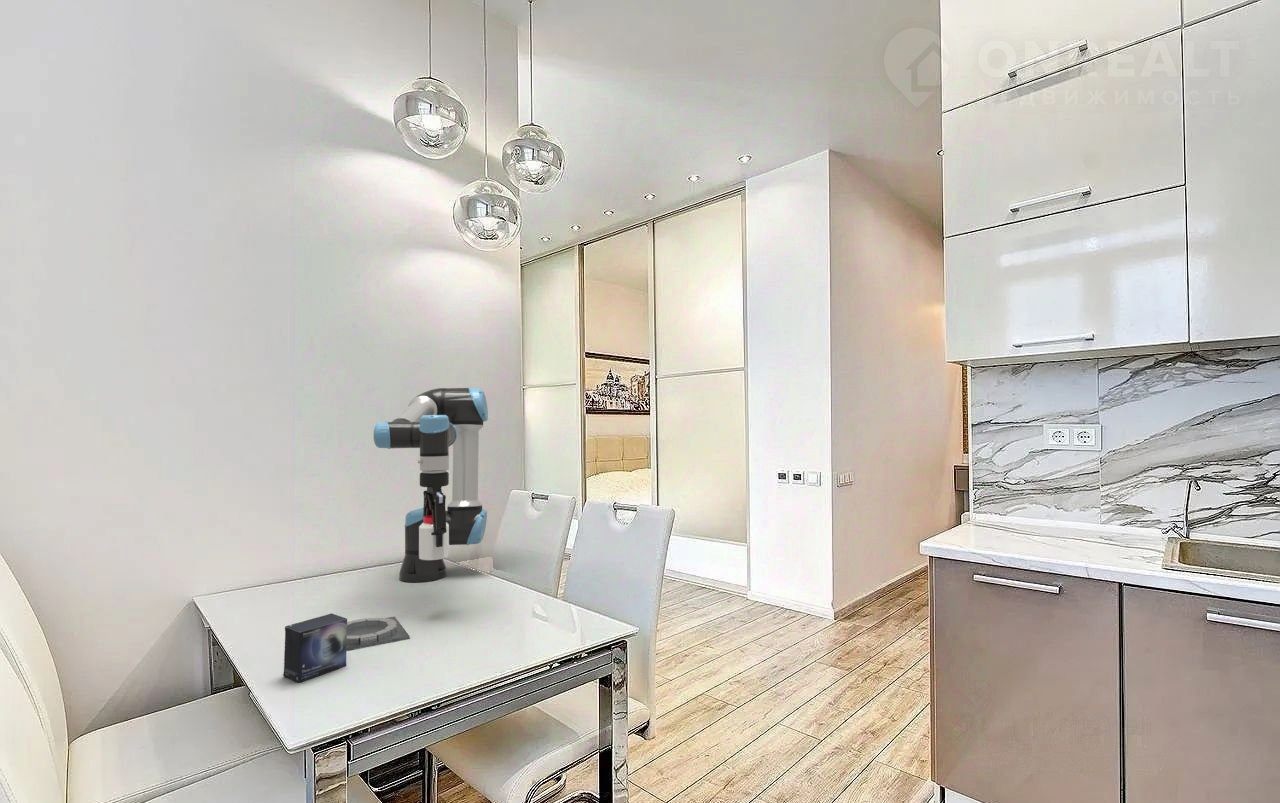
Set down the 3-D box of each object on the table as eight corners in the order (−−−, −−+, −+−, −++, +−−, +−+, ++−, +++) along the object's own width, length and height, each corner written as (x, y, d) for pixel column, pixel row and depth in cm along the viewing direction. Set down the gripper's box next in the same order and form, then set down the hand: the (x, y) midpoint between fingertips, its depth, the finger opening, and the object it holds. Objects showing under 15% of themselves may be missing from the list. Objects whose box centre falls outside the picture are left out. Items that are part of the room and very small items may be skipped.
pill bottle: (412, 558, 162) (412, 517, 162) (432, 552, 169) (432, 513, 170) (435, 561, 159) (435, 519, 160) (455, 554, 167) (455, 514, 167)
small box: (299, 684, 123) (299, 631, 123) (282, 677, 126) (282, 626, 127) (348, 666, 132) (348, 617, 132) (331, 659, 135) (331, 612, 135)
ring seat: (394, 618, 163) (394, 611, 163) (409, 638, 148) (409, 631, 148) (319, 631, 153) (319, 624, 153) (327, 654, 138) (327, 646, 138)
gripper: (411, 469, 171) (411, 550, 171) (429, 475, 154) (429, 565, 154) (438, 468, 176) (438, 547, 175) (459, 473, 158) (459, 561, 158)
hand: (434, 555), depth 164 cm, fingers closed on pill bottle, 8 cm apart
